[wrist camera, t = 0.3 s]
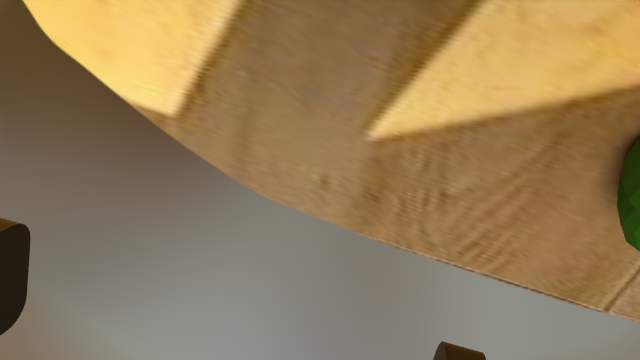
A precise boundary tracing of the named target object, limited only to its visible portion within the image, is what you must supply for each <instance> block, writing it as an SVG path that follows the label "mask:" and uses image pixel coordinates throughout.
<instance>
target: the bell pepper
mask: <svg viewBox="0 0 640 360" xmlns="http://www.w3.org/2000/svg"><path fill="white" fill-rule="evenodd" d="M617 208H618V213H619V218H620V223H621V226H622V229H623V233H624V236H625V239H626V242H628V243H629V244H630V245H632V246H633V247H635V248H636V249H637V250H639V251H640V140H638V141H637V142H635V144H634V145H633V147H632V148H631V150H630V152H629V153H628V155H627V156H626V158H625V160H624V164H623V176H622V177H621V178H620V183H619V189H618V203H617Z"/></svg>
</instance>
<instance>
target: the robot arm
mask: <svg viewBox="0 0 640 360" xmlns="http://www.w3.org/2000/svg"><path fill="white" fill-rule="evenodd" d="M29 252H30V232H29V229H28V227H27V226H26V225H24V224H21V223H18V222H14V221H10V220H6V219H3V218H0V335H1V334H3V333H4V332H5V331H7V330H8V329H9V328H11V327H12V325H13V324H14V323H15V322H16V321H17V319H18V318H19V316H20V314H21V312H22V310H23V308H24V305H25V301H26V296H27V282H28V267H29ZM433 360H486V358H485V355H484V354H483V353H482V352H478V351H474V350H471V349H468V348H464V347H460V346H457V345H453V344H450V343H446V342H441V343H440V344H439V346H438V348H437V350H436V353H435V356H434V359H433Z"/></svg>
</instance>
